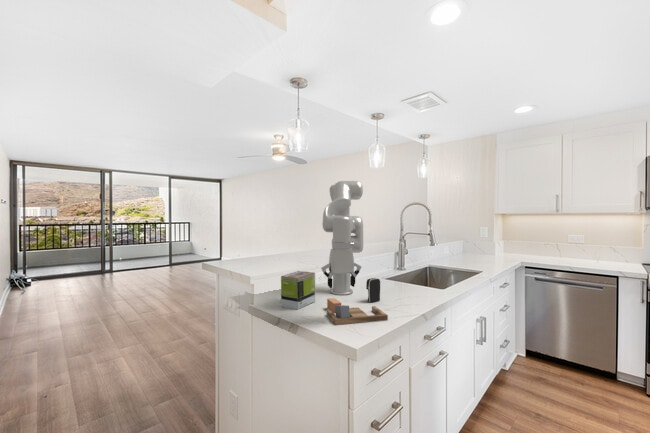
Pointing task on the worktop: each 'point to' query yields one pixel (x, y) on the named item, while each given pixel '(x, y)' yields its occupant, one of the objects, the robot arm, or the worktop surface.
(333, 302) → the terracotta stub
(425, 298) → the worktop surface
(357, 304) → the worktop surface
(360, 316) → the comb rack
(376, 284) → the battery charger
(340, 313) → the grey stub
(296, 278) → the tea box
